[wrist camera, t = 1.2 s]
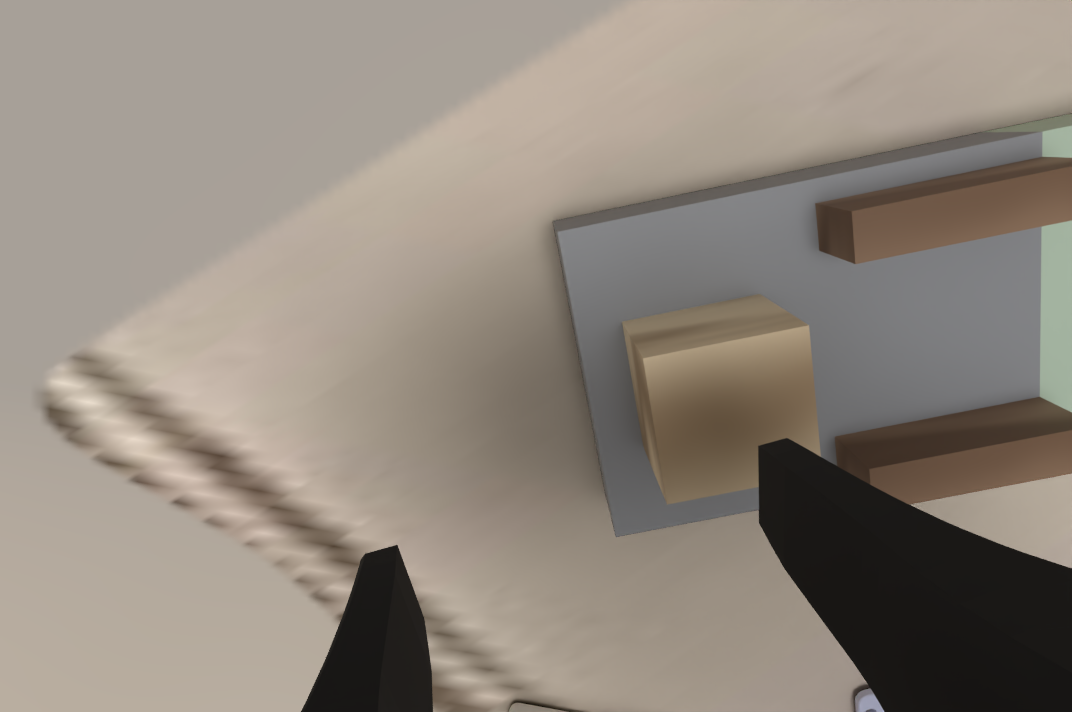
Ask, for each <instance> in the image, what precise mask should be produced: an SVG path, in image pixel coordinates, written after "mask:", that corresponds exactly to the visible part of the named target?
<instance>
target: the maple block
mask: <svg viewBox="0 0 1072 712" xmlns="http://www.w3.org/2000/svg"><path fill="white" fill-rule="evenodd" d="M622 325H623V331H624V337H625V343H626V348H627V354H628V360H629V366H630V372H631V378H632V383H633V389H634V395H635V401H636V407H637V413H638V418H639V424H640V430H641V436H642V442H643V447H644V450H645V452H646V454H647V457H648V459H649V462H650V464H651V467H652V469H653V472H654V474H655V476H656V479H657V481H658V484H659V486H660V489H661V491H662V493H663V496H664V498H665V501H666V503H667V505H668V504H673V503H678V502H683V501H689V500H694V499H699V498H704V497H709V496H715V495H720V494H725V493H730V492H735V491H740V490H746V489H751V488H756V487H759V473H758V446H759V445H763V444H766V443H770V442H774V441H777V440H781V439H785V438H788V439H790V440H792V441H794V442H796V443H798V444H799V445H801V446H803V447H805V448H806V449H808V450H810V451H812V452H813V453H815V454H817V455H819V456H820V457H821V453H820V442H819V431H818V419H817V408H816V397H815V386H814V375H813V364H812V353H811V342H810V331H809V325H808V324H806V323H805V322H803V321H802V320H800V319H798V318H797V317H795V316H794V315H792V314H791V313H789V312H787V311H786V310H784V309H783V308H781V307H780V306H778V305H776V304H775V303H773V302H772V301H770V300H769V299H767V298H766V297H764V296H762V295H761V294H757V295H752V296H747V297H742V298H737V299H732V300H727V301H722V302H717V303H712V304H707V305H703V306H698V307H693V308H688V309H683V310H678V311H673V312H668V313H663V314H658V315H653V316H648V317H643V318H638V319H633V320H628V321H623V322H622Z"/></svg>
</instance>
